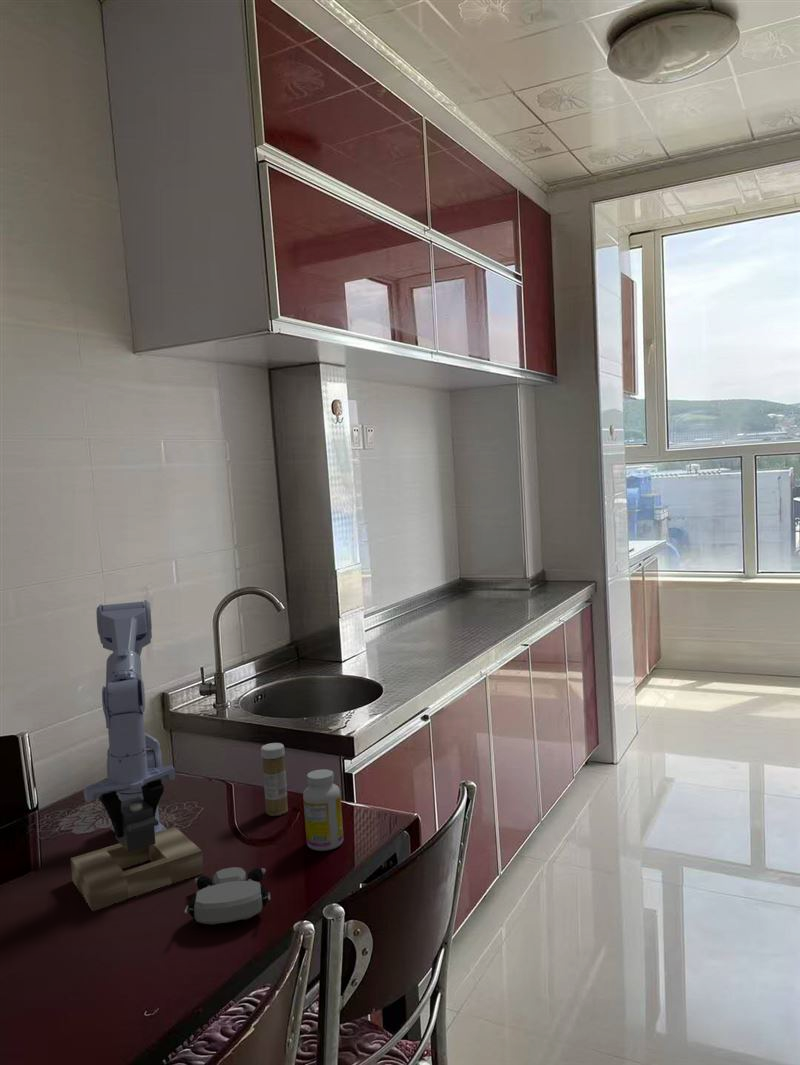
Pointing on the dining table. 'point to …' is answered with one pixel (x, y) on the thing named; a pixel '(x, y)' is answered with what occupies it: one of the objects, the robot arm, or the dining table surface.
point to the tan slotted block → (111, 884)
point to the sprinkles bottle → (274, 779)
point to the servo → (137, 824)
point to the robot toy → (228, 896)
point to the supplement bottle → (322, 811)
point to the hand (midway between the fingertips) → (134, 831)
